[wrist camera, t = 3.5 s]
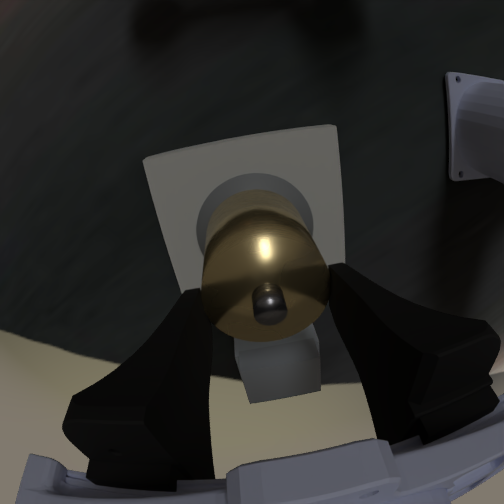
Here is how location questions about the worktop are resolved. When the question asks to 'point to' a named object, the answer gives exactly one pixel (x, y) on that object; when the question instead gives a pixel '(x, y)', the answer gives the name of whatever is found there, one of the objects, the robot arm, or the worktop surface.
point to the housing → (262, 269)
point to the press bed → (249, 178)
